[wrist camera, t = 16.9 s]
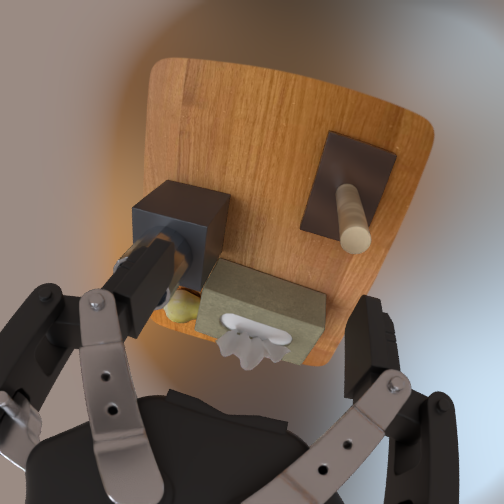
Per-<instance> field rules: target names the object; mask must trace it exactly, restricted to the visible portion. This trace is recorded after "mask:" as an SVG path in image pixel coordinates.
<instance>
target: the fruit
mask: <svg viewBox="0 0 504 504" xmlns="http://www.w3.org/2000/svg"><path fill="white" fill-rule="evenodd" d="M200 300H201V299H200V298H199V297H197V296H195V295H193V294H191V293H190V292H188V291H185V290H180V289H179V290H176V291H175V293H174V295H173V296H172V298H171V300H170V301H169V303H168V304H167V305H166V306H165V307H164V308H163V309H164V310H165V312H166V315H167V317H168V318H169V319H170V320H172V321H173V322H176V323H186V322H189V321H190V320H193V319H197V314H198V310H199V305H200Z"/></svg>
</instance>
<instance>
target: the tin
mask: <svg viewBox="0 0 504 504" xmlns="http://www.w3.org/2000/svg"><path fill="white" fill-rule="evenodd" d="M156 238H160V239H164V240H167V241H171V242H174V245H175V252H174V274H173V278H172V281H171V283H170V285H169V287H168V288H167V290H166V292H165V293H164V295H163V296H162V298H161V300H160V301H159V303H158V304H157V306H156V308H155V309H154V310H158V309H162V308H164V307H165V306H166V305H167V304H168V303H169V301H170V300H171V298H172V296H173V295H174V293H175V291H176V290H177V288H178V287H179V285H180V283H181V282H182V280H183V279H184V277H185V275H186V274H187V272H188V271H189V269H190V267H191V265H192V261H193V254H192V249H191V247H190V245H189V244H188V242H187V240H186V239H185V238H184V237H183V236H182V235H181V234H180V233H179V232H177V231H176V230H174V229H171V228H169V227H166V226H154V227H152V228H150V229H148V230H147V231H146V232H145V233H144V234H143V235H142V236H141V237H140V238H139V239H138V240H137V241H136V242H135V243H134V244H133V245H132V246H131V247H130V248H129V249H128V250H127V251H126V252H125V253H124V254H123V256H122V257H121V258H120V259H119V260H118V261H117V263H116V264H115V266H114V268H113V271H114V272H113V274H114V273H115V271H116V270H117V269H118V268H119V267H121V264H122V263H123V262H124V261H126V259H127V258H128V256H129V255H130V254H131V253H132V252H133V251H135V250H136V249H138V248H140V247H142V246H145V247H149V246H150V245H151V243H152V242H153V241H154V240H155V239H156Z"/></svg>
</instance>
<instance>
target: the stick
mask: <svg viewBox="0 0 504 504" xmlns="http://www.w3.org/2000/svg"><path fill="white" fill-rule="evenodd" d="M336 203H337V212H338V222H339V233H340V243H341V246H342V248H343V249H344V250H345V251H346V252H348V253H351V254H359V253H362V252H364V251H365V250H367V249H368V247H369V246H370V243H371V235H370V232H369V228H368V224H367V221H366V217H365V213H364V210H363V206H362V203H361V200H360V196H359V193H358V190H357V188H356V187H355V186H353V185H351V184H343V185H341V186H339V187H338V189H337V191H336Z"/></svg>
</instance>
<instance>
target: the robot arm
mask: <svg viewBox="0 0 504 504" xmlns="http://www.w3.org/2000/svg"><path fill="white" fill-rule="evenodd" d="M174 252H175V245H174V242H171V241H167V240H164V239H160V238H156V239H155V240H154V241H153V242H152V243H151V245H150V246H149V247H145V246H142V247H140V248H138V249H136V250H135V251H133V252H132V253H131V254H130V255H129V256H128V258H127V259H126V261H124V262H123V263H122V264H121V267H119V268H118V269H117V270H116V271H115V273H114V274H113V275H112V276H111V277H110V279H109V280H108V281H107V282H106V283H105V285H104V286H103V287H102V288H101V289H93V290H90V291H88V292H86V293H85V294H84V295H83V296H82V297H75V296H66V295H63V294H62V291H61V288H60V287H59V286H58V285H56V284H53V283H46V284H42V285H40V286H38V287H37V288H36V289H35V290H34V291H33V292H32V293H31V294H30V295H29V297H28V298H27V299H26V300H25V301H24V303H23V304H22V305H21V306H20V308H19V309H18V310H17V311H16V313H15V314H14V315H13V316H12V318H11V319H10V320H9V322H8V323H7V324H6V326H5V327H4V328H3V330H2V331H1V332H0V455H2V456H4V457H5V458H7V459H8V460H10V461H11V462H12V463H14V464H15V465H16V466H18V467H19V468H21V469H22V470H24V471H25V475H26V500H25V504H344V502H343V501H342V499H341V498H340V496H339V494H338V493H337V490H338V489H339V488H340V487H341V486H342V485H343V484H344V483H345V482H346V481H347V480H348V478H350V476H351V475H352V474H353V473H354V472H355V471H356V470H357V469H358V468H359V466H360V465H361V464H362V463H363V462H364V461H365V459H366V458H367V457H368V456H369V455H370V453H371V452H372V451H373V450H374V449H375V447H376V446H377V445H378V444H379V442H380V441H381V440H382V439H383V437H384V436H387V437H389V454H388V467H387V478H386V488H385V498H384V504H459V452H458V437H457V425H456V415H455V408H454V404H453V402H452V400H451V398H450V397H449V396H448V395H446V394H445V393H443V392H439V391H438V392H434V393H432V394H431V395H430V396H429V397H427V396H425V395H423V394H421V393H419V392H416V391H415V390H413V389H411V384H410V381H409V379H408V378H407V377H406V376H405V375H404V374H403V373H402V372H401V371H400V364H399V356H398V349H397V343H396V336H395V330H394V324H393V322H392V320H391V319H390V317H389V315H388V313H384V312H382V306H381V301H380V299H378V298H374V297H371V296H367V295H362V296H361V298H360V299H359V301H358V303H357V305H356V307H355V308H354V310H353V312H352V314H351V315H350V317H349V319H348V321H347V324H346V328H345V381H344V383H345V385H344V398H349V399H353V405H352V406H351V407H350V408H349V410H347V412H345V414H344V415H343V416H342V417H341V418H340V419H339V420H338V421H337V422H336V423H335V424H334V425H333V426H332V427H330V428H329V429H328V430H327V431H326V432H325V433H324V434H323V435H322V436H321V437H320V438H319V439H318V440H317V441H316V442H314V443H313V444H312V445H311V446H310V447H309V446H308V445H307V444H306V443H305V442H304V441H303V440H302V439H301V438H299V437H298V436H297V435H296V434H294V433H292V432H291V431H288V430H287V425H288V422H285V421H281V420H276V419H271V418H267V417H262V416H254V415H253V416H252V415H228V414H224V413H222V412H221V411H219V410H217V409H215V408H213V407H212V406H210V405H208V404H207V403H204V402H203V401H201V400H200V399H198V398H195V397H192V396H189V395H186V394H183V393H180V392H177V391H174V390H171V389H169V391H168V393H167V396H164V395H153V396H145V397H141V398H137V395H136V392H135V388H134V384H133V380H132V376H131V372H130V368H129V364H128V360H127V356H126V351H125V346H124V341H125V340H126V338H127V336H130V337H132V338H135V339H137V337H138V336H139V334H140V332H141V331H142V329H143V327H144V325H145V324H146V322H147V321H148V319H149V317H150V316H151V314H152V313H153V311H154V309H155V308H156V306H157V304H158V303H159V301H160V300H161V298H162V296H163V295H164V293H165V292H166V290H167V288H168V287H169V285H170V283H171V281H172V278H173V274H174ZM74 349H79V355H80V365H81V373H82V380H83V387H84V394H85V400H86V406H87V411H88V416H89V421H88V422H85V423H83V424H81V425H79V426H76V427H74V428H72V429H69V430H67V431H65V432H62V433H60V434H57V435H55V436H53V437H50V438H47V439H45V440H43V441H41V442H40V440H39V435H40V433H41V427H42V420H41V416H40V414H39V413H38V412H39V410H40V408H41V407H42V405H43V403H44V401H45V399H46V397H47V395H48V394H49V392H50V390H51V388H52V386H53V384H54V383H55V381H56V379H57V377H58V376H59V374H60V372H61V370H62V368H63V367H64V365H65V364H66V362H67V360H68V358H69V357H70V355H71V353H72V352H73V350H74Z"/></svg>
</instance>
